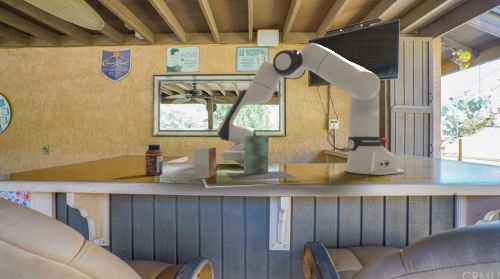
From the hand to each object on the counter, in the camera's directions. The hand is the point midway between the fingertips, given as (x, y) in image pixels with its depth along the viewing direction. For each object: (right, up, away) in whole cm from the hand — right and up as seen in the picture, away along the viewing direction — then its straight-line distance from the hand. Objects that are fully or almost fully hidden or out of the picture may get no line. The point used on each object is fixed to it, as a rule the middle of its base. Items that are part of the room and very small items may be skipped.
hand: (249, 156), depth 115 cm
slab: (+2, -6, -10) cm, 12 cm away
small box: (-16, -7, -16) cm, 23 cm away
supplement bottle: (-36, -6, -10) cm, 38 cm away
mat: (+4, -6, -15) cm, 17 cm away
